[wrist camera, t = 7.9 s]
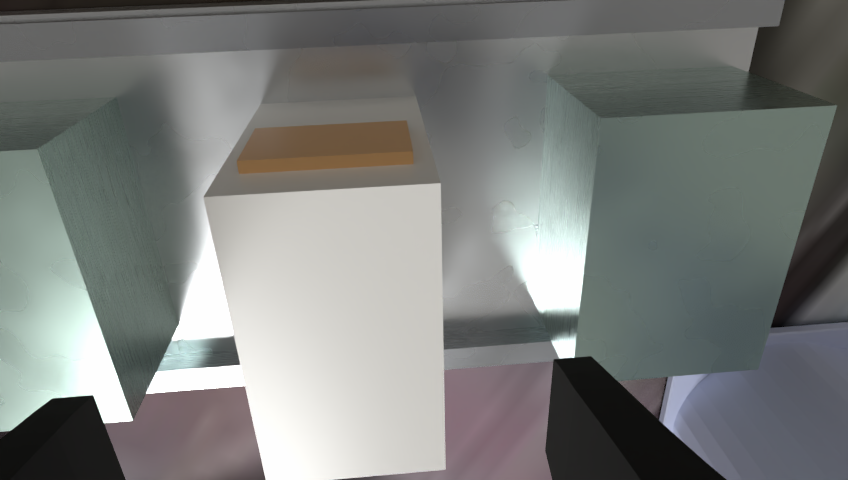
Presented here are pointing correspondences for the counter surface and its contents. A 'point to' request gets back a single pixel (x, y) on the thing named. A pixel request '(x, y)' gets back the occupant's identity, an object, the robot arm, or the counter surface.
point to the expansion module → (336, 286)
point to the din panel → (456, 165)
